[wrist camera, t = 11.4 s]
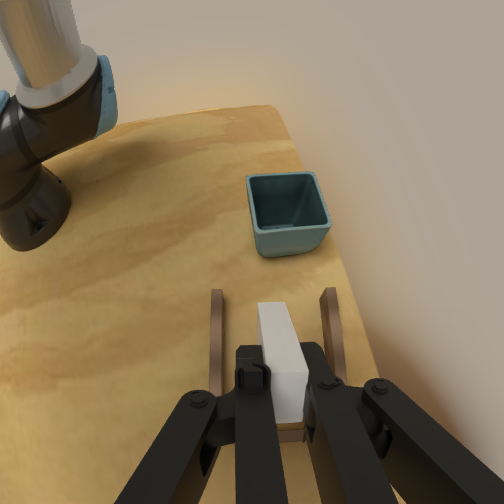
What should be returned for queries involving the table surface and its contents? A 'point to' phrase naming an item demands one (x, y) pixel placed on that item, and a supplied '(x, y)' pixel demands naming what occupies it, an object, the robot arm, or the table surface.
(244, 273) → the table surface
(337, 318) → the wooden tray rim
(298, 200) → the flower pot
